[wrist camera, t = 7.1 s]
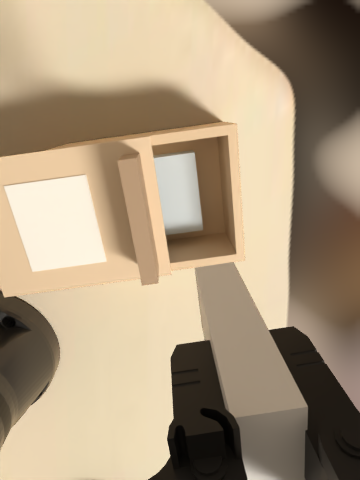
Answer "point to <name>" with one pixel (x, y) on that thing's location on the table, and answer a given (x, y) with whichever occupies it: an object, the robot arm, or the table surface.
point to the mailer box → (197, 192)
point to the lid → (81, 218)
